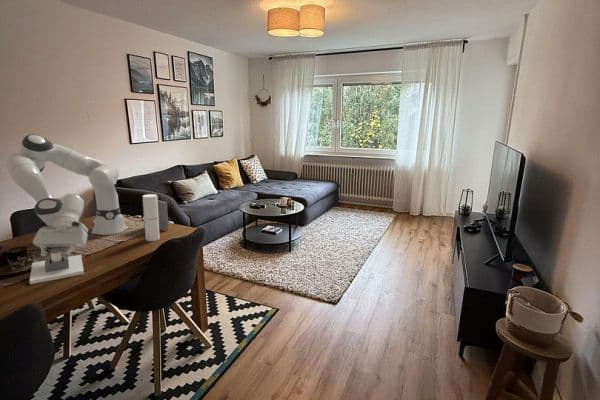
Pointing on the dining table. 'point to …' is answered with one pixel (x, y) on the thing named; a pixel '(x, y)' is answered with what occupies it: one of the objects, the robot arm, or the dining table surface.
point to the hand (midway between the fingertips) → (55, 255)
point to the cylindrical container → (151, 217)
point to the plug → (56, 255)
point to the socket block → (56, 269)
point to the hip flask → (162, 215)
